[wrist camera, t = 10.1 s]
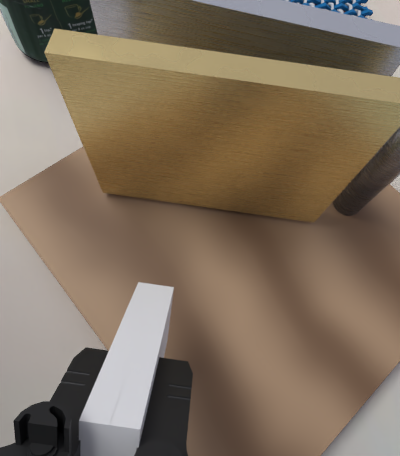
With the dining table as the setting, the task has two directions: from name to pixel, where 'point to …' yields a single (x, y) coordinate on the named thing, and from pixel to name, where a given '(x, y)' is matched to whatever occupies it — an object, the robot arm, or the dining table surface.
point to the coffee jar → (45, 22)
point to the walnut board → (234, 301)
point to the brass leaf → (220, 123)
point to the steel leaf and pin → (272, 51)
